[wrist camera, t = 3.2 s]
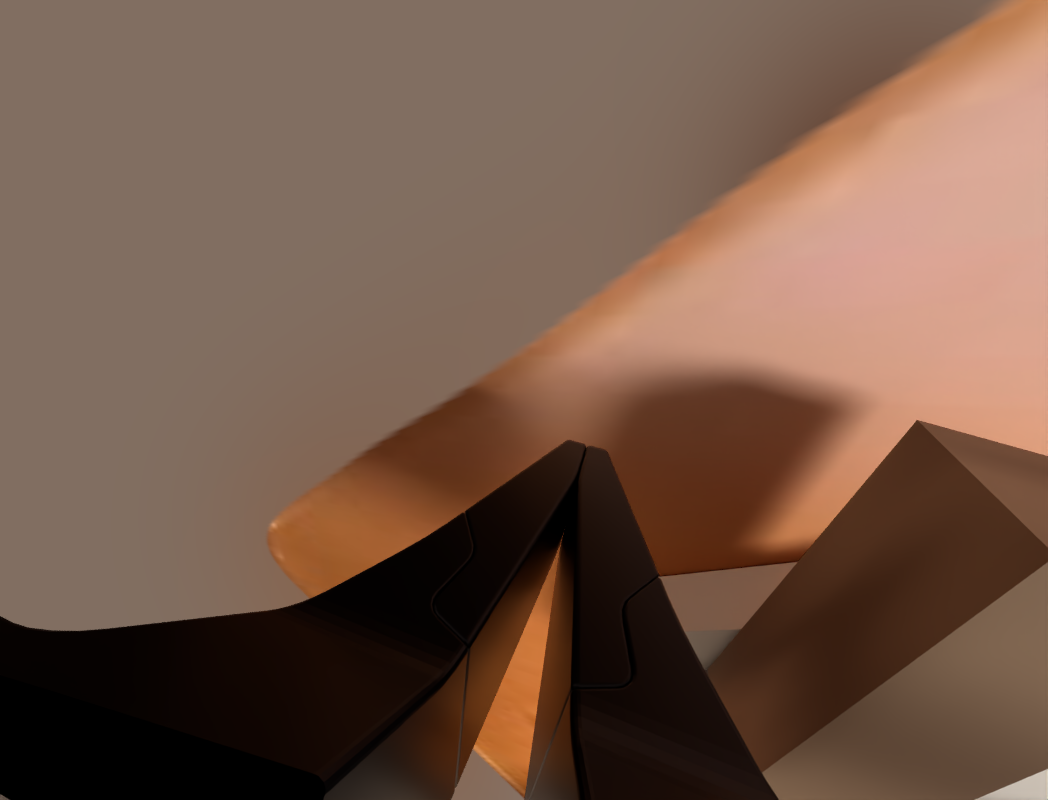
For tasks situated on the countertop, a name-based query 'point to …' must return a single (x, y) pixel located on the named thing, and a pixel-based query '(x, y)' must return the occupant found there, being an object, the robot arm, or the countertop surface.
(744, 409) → the countertop surface
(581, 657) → the robot arm
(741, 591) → the tray of grey blocks
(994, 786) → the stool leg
